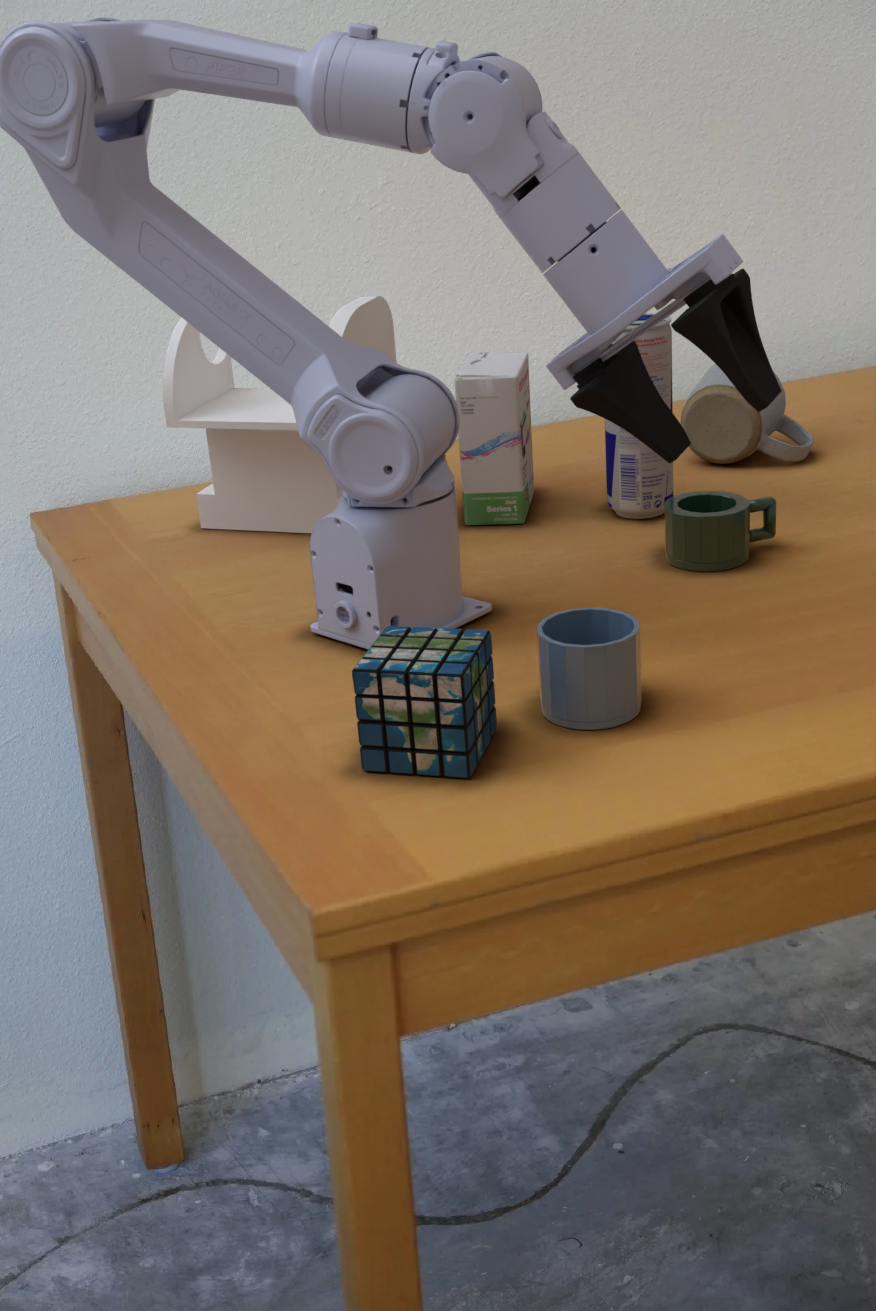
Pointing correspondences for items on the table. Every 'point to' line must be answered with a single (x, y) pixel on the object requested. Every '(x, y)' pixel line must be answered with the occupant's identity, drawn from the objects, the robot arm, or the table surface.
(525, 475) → the ink box
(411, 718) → the puzzle
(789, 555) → the table surface
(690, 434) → the ceramic mug
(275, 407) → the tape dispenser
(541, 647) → the blue cup
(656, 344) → the beverage can
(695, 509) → the green mug
